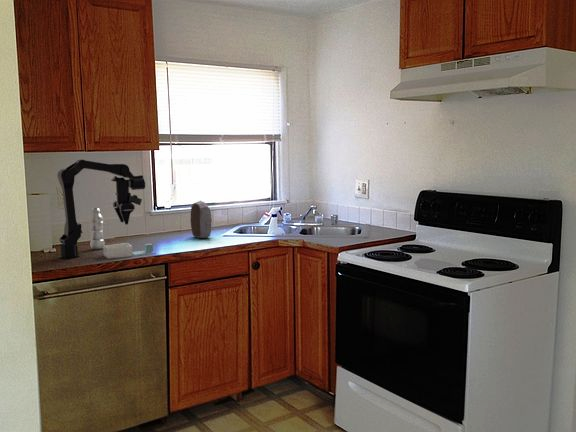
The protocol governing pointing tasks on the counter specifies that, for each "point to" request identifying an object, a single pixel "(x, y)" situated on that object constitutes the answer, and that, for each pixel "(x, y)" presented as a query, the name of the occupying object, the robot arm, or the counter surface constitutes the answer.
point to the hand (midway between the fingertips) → (124, 223)
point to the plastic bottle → (96, 229)
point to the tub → (117, 250)
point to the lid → (147, 250)
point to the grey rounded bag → (200, 220)
